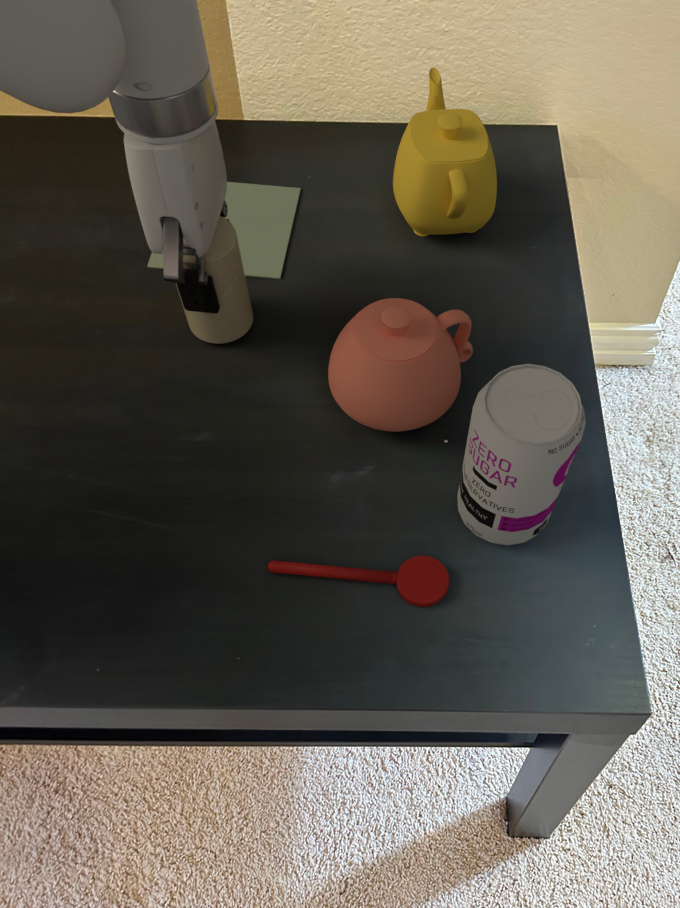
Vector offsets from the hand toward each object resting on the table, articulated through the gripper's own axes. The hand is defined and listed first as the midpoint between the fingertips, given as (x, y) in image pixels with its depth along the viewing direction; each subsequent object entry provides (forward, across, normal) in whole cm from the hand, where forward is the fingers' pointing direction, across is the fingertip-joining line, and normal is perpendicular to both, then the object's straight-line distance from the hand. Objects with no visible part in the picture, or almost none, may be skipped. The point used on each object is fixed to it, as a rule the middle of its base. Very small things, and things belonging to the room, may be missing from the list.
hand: (210, 280), depth 70 cm
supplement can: (+6, +18, +29) cm, 35 cm away
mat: (+6, -14, -2) cm, 15 cm away
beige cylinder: (+5, 0, 0) cm, 5 cm away
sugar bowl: (+6, +6, +19) cm, 21 cm away
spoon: (+6, +26, +17) cm, 32 cm away
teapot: (+6, -20, +21) cm, 29 cm away
